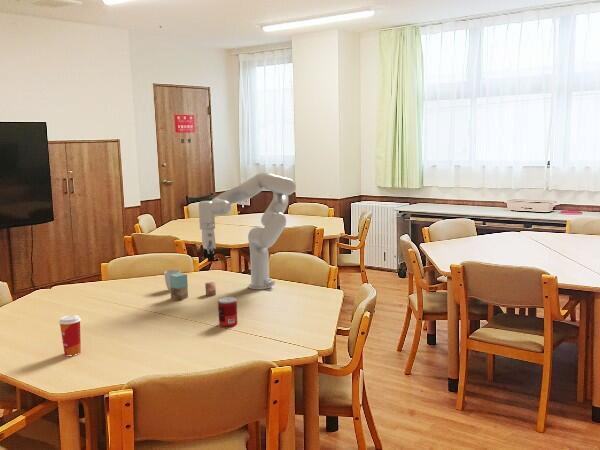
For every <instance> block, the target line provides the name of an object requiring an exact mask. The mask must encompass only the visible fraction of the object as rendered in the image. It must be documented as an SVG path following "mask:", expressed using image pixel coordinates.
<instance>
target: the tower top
mask: <svg viewBox="0 0 600 450" xmlns="http://www.w3.org/2000/svg"><path fill="white" fill-rule="evenodd" d="M188 286H189V285H188V274H186V273H181V272H180V273H178V274H173V275H170V287H172V288H176V289H179V288H184V287H188Z"/></svg>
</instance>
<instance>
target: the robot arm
mask: <svg viewBox="0 0 600 450" xmlns="http://www.w3.org/2000/svg"><path fill="white" fill-rule="evenodd" d="M296 189H297V188H296V182H295V181H294V180H293V179H291V178H289V177H284V176H281V175H277V174H273V173H270V172H268V173H267V172H260V173H256V174H255V175H254V176H252V177H250V178H248V179H247V180H246V181H244V182H242V183H240V184H239V185H237V186H235V187H232V188H230V189H228V190H225V191H223V192H222V193H219V194H218V195H217V196H214V198H212V199H211V200H201V201H199V202H198V218H199V219H198V220H199V221H198V222H199V229H200V230H201V242H202V243H201V244H202V247H203V249H202V250H203V251H202V252H203V253H202V254H203V259H207V262H209V263H213V262H215V251H214V249H216V248H217V247H216V245H217V244H216V236H215V229H216V219H215V216H217V215H218V216H225V215H227V214H229V213H230V212H231V209H232V206H231V205H233V204H235V203H240V202H244V201H247V200H250V199H251V198H253V197H254V196H256V195H258V194H260V193H261V192H263V191H264V190H266V191H270V192H272V194H273V195H272V196H273V197H272V200H271V201H270V204H269V205H268V207H267V208H266V210H265V211H264V213H263V214H262V216H261V218H260V219H261V220H260V223H261V225H262V226H263V227H260V226H255V227H253V228H251V229H250V230H249V232H248V235H247V240H248V241H247V242H248V246H249V247H248V248H249V256H250V257H249V258H250V260H249V261H250V279H251V280H250V283H249V284H248V285H247V286H248V288H249V289H252V290H267V289H271V288H273V286H275V284H276V281H274V280H272V278H271V277H270V263H269V262H270V259H269V258H270V257H269V255H270V254H269V248H271V247H273V246H274V244H275V243H276V241H278V239H279V237H280V236H281V234H282V233H283V231H284V230H285V228H286V224H287V217H286V216H285V214H284V213H285V211H286V210H287V208H288V206H289V196H290V195H292V194H293V193H294V192H295V191H296Z"/></svg>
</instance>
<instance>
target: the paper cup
mask: <svg viewBox="0 0 600 450" xmlns="http://www.w3.org/2000/svg"><path fill="white" fill-rule="evenodd" d="M81 320H82V318H81V317H80V315H78V314H72V315H65V316H62V317H60V318H59V321H58V324H59V326H60V334H61V339H62V347H63V351H64V356H65V355H75V354H78V353H80V354H81ZM78 355H79V354H78Z"/></svg>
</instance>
